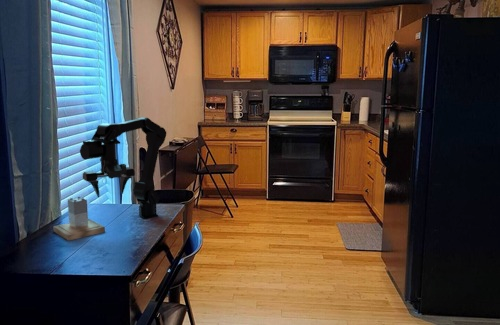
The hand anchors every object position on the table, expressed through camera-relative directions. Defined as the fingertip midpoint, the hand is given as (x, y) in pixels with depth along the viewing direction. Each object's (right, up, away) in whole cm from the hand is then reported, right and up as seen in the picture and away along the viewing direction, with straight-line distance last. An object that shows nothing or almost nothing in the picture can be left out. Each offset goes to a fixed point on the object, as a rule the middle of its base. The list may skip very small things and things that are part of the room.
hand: (110, 195), depth 162 cm
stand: (-11, -14, -3) cm, 18 cm away
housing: (-11, -11, -4) cm, 16 cm away
